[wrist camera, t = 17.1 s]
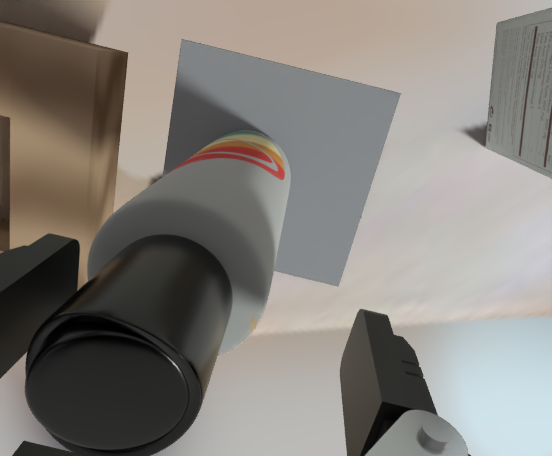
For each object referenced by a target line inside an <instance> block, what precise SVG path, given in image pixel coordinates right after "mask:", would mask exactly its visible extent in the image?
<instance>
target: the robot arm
mask: <svg viewBox="0 0 552 456" xmlns="http://www.w3.org/2000/svg"><path fill="white" fill-rule="evenodd" d="M79 257H80V244H79V241H78V240H76V239H72V238H68V237H64V236H60V235H56V234H52V233H48V234H46V235H44V236H43V237H41V238H40V239H38V240H37V241H35V242H33V243H32V244H30V245H29V246H26V245H24V246H20V247H17V248H14V249H10V250H7V251H4V252H2V253H0V378H1V377H2V376H3V375H4V374H5V373H6V372H7V371H8V370H9V369H10V368H11V367H12V366H13V365H14V364H15V363H16V362H17V361H18V360H19V359H20V358H21V357H22V356H23V355H24V354H25V353H26V352H27V351H28V348H29V345H30V342H31V340H32V338H33V336H34V334H35V333H36V331H37V330H38V328H39V327H40V326H41V325H42V324H43V323H44V322H45V321H46V320H47V319H48V318H49V317H50V316H51V315H52V314H53V313H54V312H55V311H56V310H57V309H58V308H59V307H60V306H62V305H63V304H64V303H65V302H66V301H67V300H68V299H69V298H70V297H71V296H72V295H73V294H75V293H76V292H77V288H78V273H79ZM340 381H341V392H342V404H343V415H344V426H345V437H346V447H347V456H471V455H469V454H468V449H467V446H466V443H465V441H464V439H463V438H462V436H461V435H460V434H459V432H458V431H457V430H456V429H455V428H454V427H453V426H452V425H451V424H450V423H448V422H447V421H446V420H444V419H442V418H441V417H439V416H438V415H437V412H436V409H435V407H434V404H433V401H432V398H431V395H430V392H429V390H428V387H427V384H426V382H425V379H424V378H423V373H422V370H421V368H420V367H419V362H418V359H417V356H416V354H415V351H414V350H413V348H412V347H411V346H410V345H409V344H408V343H407V341H406V340H405V339H404V338H403V337H401V336H396V335H394V334H393V331H392V328H391V324H390V321H389V318H388V316H387V315H385V314H381V313H376V312H372V311H368V310H364V309H360V310H359V312H358V313H357V316H356V318H355V321H354V324H353V327H352V330H351V333H350V336H349V339H348V341H347V344H346V347H345V350H344V353H343V357H342V361H341V367H340ZM12 456H81V455H79V454H77V453H73V452H69V451H65V450H60V449H56V448H52V447H48V446H44V445H40V444H35V443H31V442H27V441H23V442H22V444H21V445H20V446H19V448H18V449H17V450H16V451H15V453H14V454H13V455H12Z"/></svg>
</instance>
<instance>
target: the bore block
mask: <svg viewBox="0 0 552 456" xmlns="http://www.w3.org/2000/svg"><path fill="white" fill-rule="evenodd" d="M127 59H128V53H127V52H123V51H119V50H115V49H111V48H107V47H103V46H99V45H95V44H91V43H87V42H83V41H79V40H75V39H71V38H67V37H63V36H59V35H55V34H51V33H47V32H43V31H39V30H35V29H31V28H27V27H22V26H18V25H14V24H10V23H6V22H2V21H0V115H1V116H5V117H9V118H10V222H9V221H5V220H0V253H2V252H4V251H7V250H10V249H14V248H17V247H20V246H24V245H26V246H29V245H30V244H32V243H33V242H35V241H37V240H38V239H40V238H41V237H43V236H44V235H46V234H48V233H52V234H56V235H60V236H64V237H68V238H72V239H76V240H78V241H79V244H80V257H79V273H78V288H77V291H78V290H79V289H80V288H81V287H82V286H83V285H84V284H85V283H86V282H88V278H87V261H88V255H89V251H90V247H91V245H92V242H93V240H94V238H95V236H96V234H97V233H98V231H99V230H100V228H101V227H102V225H103V224H104V223H105V222H106V220H107V219H108V218H109V217H110V216H111V215H112V214H113V205H114V194H115V184H116V173H117V163H118V152H119V142H120V132H121V122H122V110H123V101H124V90H125V80H126V69H127Z"/></svg>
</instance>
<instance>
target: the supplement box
mask: <svg viewBox="0 0 552 456" xmlns="http://www.w3.org/2000/svg"><path fill="white" fill-rule="evenodd" d="M486 148H487V149H488V150H491V151H493V152H495V153H497V154H500V155H502V156H504V157H507V158H509V159H511V160H513V161H515V162H517V163H520V164H522V165H524V166H526V167H528V168H530V169H532V170H534V171H537V172H539V173H541V174H543V175H545V176H547V177H549V178H551V179H552V8H549V9H546V10H542V11H538V12H535V13H531V14H527V15H523V16H520V17H516V18H512V19H509V20H505V21H501V22H498V23H497V26H496V38H495V47H494V59H493V70H492V80H491V90H490V102H489V112H488V122H487V134H486Z"/></svg>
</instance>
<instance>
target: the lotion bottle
mask: <svg viewBox="0 0 552 456" xmlns="http://www.w3.org/2000/svg"><path fill="white" fill-rule="evenodd" d="M290 182H291V173H290V167H289V163H288V160H287V158H286V155H285V154H284V152H283V150H282V149H281V148H280V147H279V145H278V144H277V143H276V142H274V141H273V140H272V139H271V138H269V137H267V136H266V135H264V134H261V133H258V132H255V131H249V130H240V131H234V132H230V133H227V134H225V135H223V136H221V137H219V138H218V139H216V140H214V141H213V142H212V143H210V144H209V145H207V146H206V147H204V148H203V149H202V150H200V151H199V152H197V153H196V154H195V155H193V156H192V157H190V158H189V159H188V160H186V161H185V162H183V163H182V164H180V165H179V166H178V167H176V168H175V169H173V170H172V171H171V172H169V173H168V174H166V175H165V176H164V177H162V178H161V179H159V180H158V181H156V182H155V183H154V184H152V185H151V186H149V187H148V188H147V189H145V190H144V191H142V192H141V193H140V194H138V195H137V196H136V197H134V198H133V199H131V200H130V201H129V202H127V203H126V204H125V205H123V206H122V207H121V208H119V209H118V210H117V211H116V212H115V213H114V214H112V215H111V216H110V217H109V218H108V219H107V220H106V222H105V223H104V224H103V225H102V227H101V228H100V230H99V231H98V233H97V234H96V236H95V238H94V240H93V242H92V245H91V247H90V251H89V255H88V261H87V278H88V282H86V283H85V284H84V285H83V286H82V287H81V288H80V289H79V290H78V291H77V292H76V293H75V294H73V295H72V296H71V297H70V298H69V299H68V300H67V301H66V302H65V303H64V304H63V305H62V306H60V307H59V308H58V309H57V310H56V311H55V312H54V313H53V314H52V315H51V316H50V317H49V318H48V319H47V320H46V321H45V322H44V323H43V324H42V325H41V326H40V327H39V328H38V330H37V331H36V333H35V334H34V336H33V338H32V340H31V342H30V345H29V348H28V352H27V357H26V380H25V396H26V400H27V403H28V406H29V408H30V410H31V411H32V413H33V415H34V416H35V418H36V419H37V420H38V421H39V422H40V423H41V424H42V425H43V426H44V427H45V428H46V430H47V431H48V432H49V433H50V434H51V436H52V437H53V438H54V439H56V440H57V441H58V442H59V443H60V444H61V445H63V446H64V447H65V448H67V449H68V450H70V451H72V452H73V453H77V454H79V455H81V456H151V455H153V454H155V453H158V452H160V451H161V450H163V449H165V448H166V447H168V446H170V445H171V444H173V443H174V442H175V441H177V440H178V439H179V438H180V437H181V436H183V434H184V433H185V432H186V431H187V430H188V429H189V428H190V426H191V425H192V424H193V422H194V421H195V419H196V417H197V415H198V413H199V411H200V408H201V405H202V403H203V399H204V396H205V393H206V390H207V387H208V384H209V381H210V378H211V375H212V371H213V368H214V365H215V362H216V359H217V356H220V355H223V354H225V353H227V352H229V351H231V350H233V349H234V348H236V347H237V346H239V345H240V344H241V343H242V342H243V341H245V340H246V339H247V337H248V336H249V335H250V334H251V333H252V332H253V330H254V329H255V327H256V326H257V324H258V322H259V321H260V319H261V317H262V315H263V312H264V310H265V307H266V303H267V300H268V296H269V291H270V287H271V282H272V277H273V272H274V267H275V262H276V257H277V252H278V247H279V241H280V236H281V231H282V226H283V221H284V216H285V211H286V206H287V200H288V195H289V190H290Z"/></svg>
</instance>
